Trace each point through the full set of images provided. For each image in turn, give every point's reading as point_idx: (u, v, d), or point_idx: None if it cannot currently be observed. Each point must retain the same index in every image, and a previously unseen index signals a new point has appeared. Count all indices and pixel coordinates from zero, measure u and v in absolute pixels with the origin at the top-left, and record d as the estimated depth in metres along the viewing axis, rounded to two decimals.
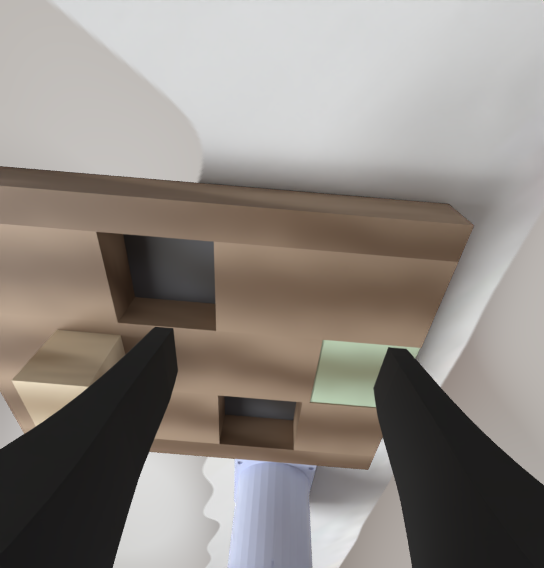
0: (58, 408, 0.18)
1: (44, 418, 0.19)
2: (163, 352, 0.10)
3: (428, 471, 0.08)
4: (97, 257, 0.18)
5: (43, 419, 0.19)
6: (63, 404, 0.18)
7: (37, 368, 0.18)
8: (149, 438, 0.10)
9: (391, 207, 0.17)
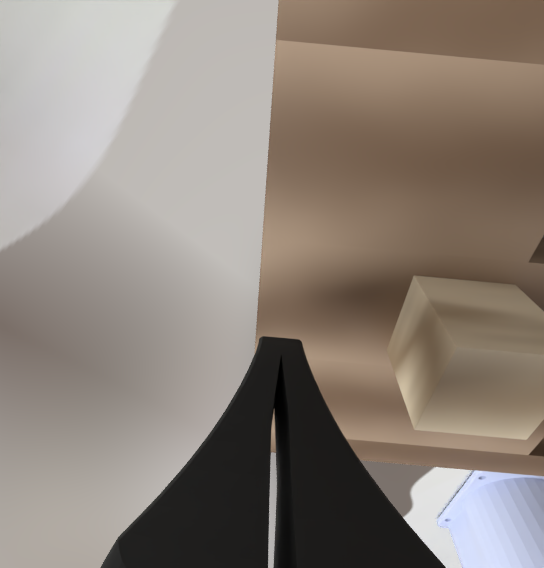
0: (489, 399, 0.11)
1: (445, 416, 0.11)
2: (280, 362, 0.10)
3: (283, 458, 0.08)
4: None
5: (441, 418, 0.11)
6: (508, 392, 0.10)
7: (471, 329, 0.10)
8: None
9: None
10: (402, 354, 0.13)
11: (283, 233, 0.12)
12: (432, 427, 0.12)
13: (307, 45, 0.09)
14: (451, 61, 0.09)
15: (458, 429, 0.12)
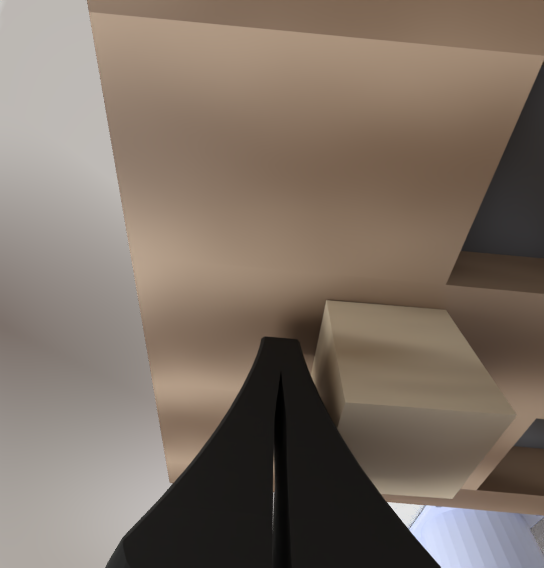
0: (399, 458, 0.09)
1: None
2: None
3: (281, 458, 0.08)
4: (502, 129, 0.08)
5: None
6: (420, 450, 0.09)
7: (371, 374, 0.08)
8: None
9: None
10: None
11: (153, 250, 0.10)
12: None
13: (129, 19, 0.07)
14: (313, 40, 0.07)
15: None
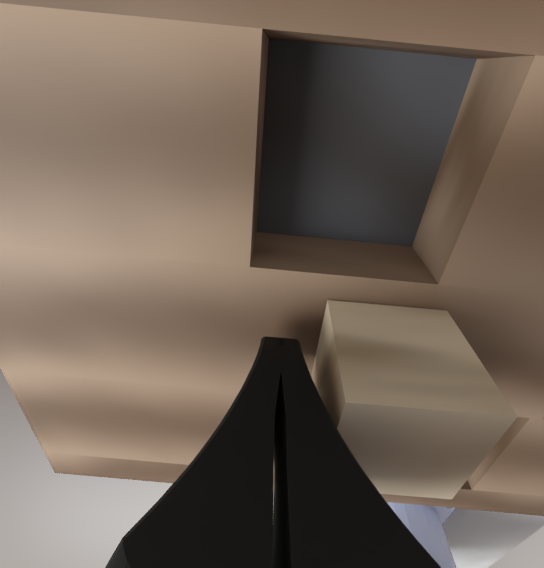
0: (398, 458, 0.09)
1: None
2: None
3: (280, 458, 0.08)
4: (247, 105, 0.08)
5: None
6: (419, 451, 0.09)
7: (372, 375, 0.08)
8: None
9: None
10: None
11: None
12: None
13: None
14: (30, 12, 0.07)
15: None
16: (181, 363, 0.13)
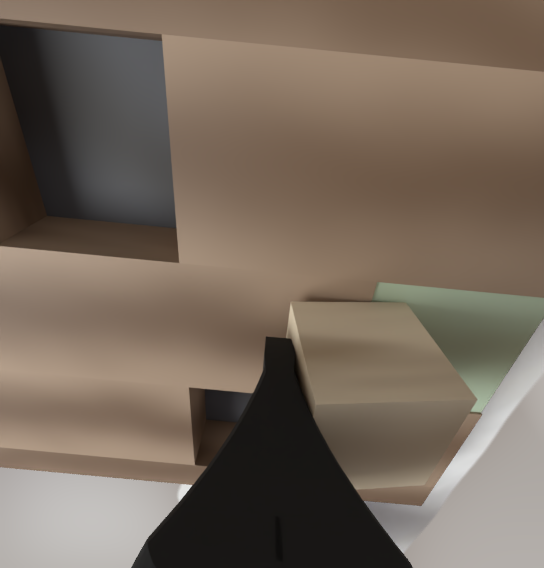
0: (372, 452, 0.09)
1: None
2: None
3: None
4: None
5: None
6: (391, 443, 0.09)
7: (340, 373, 0.08)
8: None
9: None
10: None
11: None
12: None
13: None
14: None
15: None
16: None
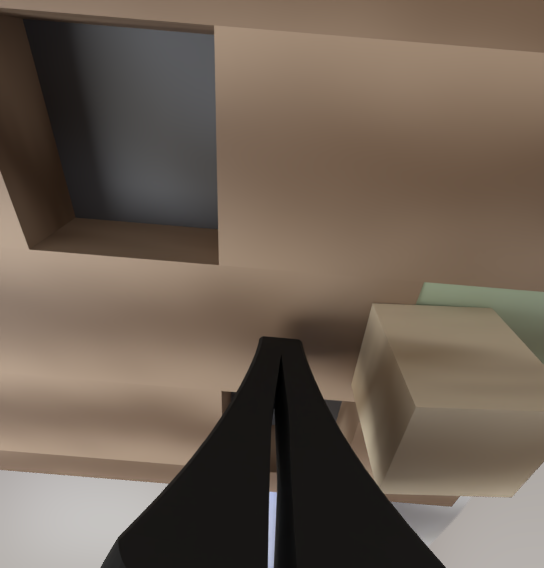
0: (463, 459, 0.09)
1: (412, 479, 0.09)
2: (280, 362, 0.10)
3: (283, 458, 0.08)
4: None
5: (407, 480, 0.09)
6: (485, 451, 0.09)
7: (435, 377, 0.08)
8: None
9: None
10: (364, 395, 0.11)
11: None
12: (398, 490, 0.10)
13: None
14: None
15: (430, 490, 0.10)
16: (4, 350, 0.13)
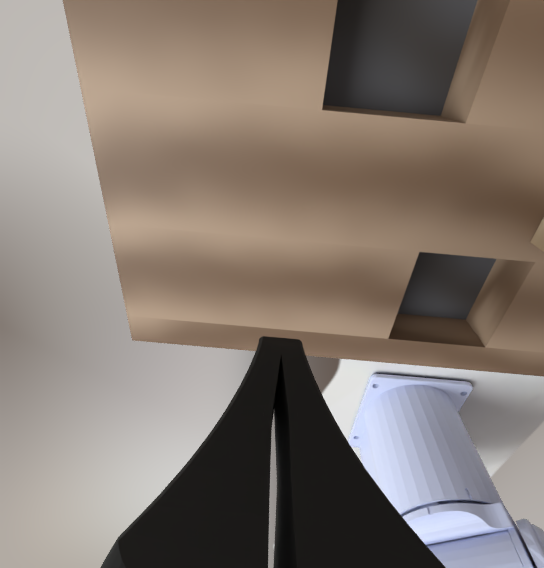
0: None
1: None
2: (280, 362, 0.10)
3: (283, 459, 0.08)
4: None
5: None
6: None
7: None
8: None
9: None
10: None
11: (97, 81, 0.14)
12: None
13: None
14: None
15: None
16: (256, 211, 0.16)
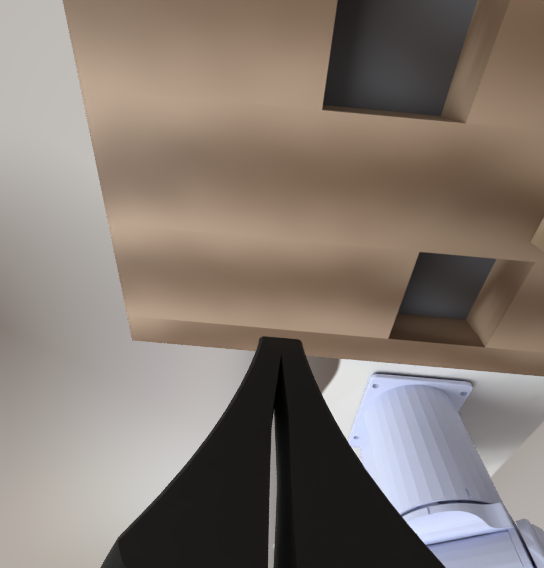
0: None
1: None
2: (280, 362, 0.10)
3: (283, 459, 0.08)
4: None
5: None
6: None
7: None
8: None
9: None
10: None
11: (97, 81, 0.14)
12: None
13: None
14: None
15: None
16: (256, 211, 0.16)
